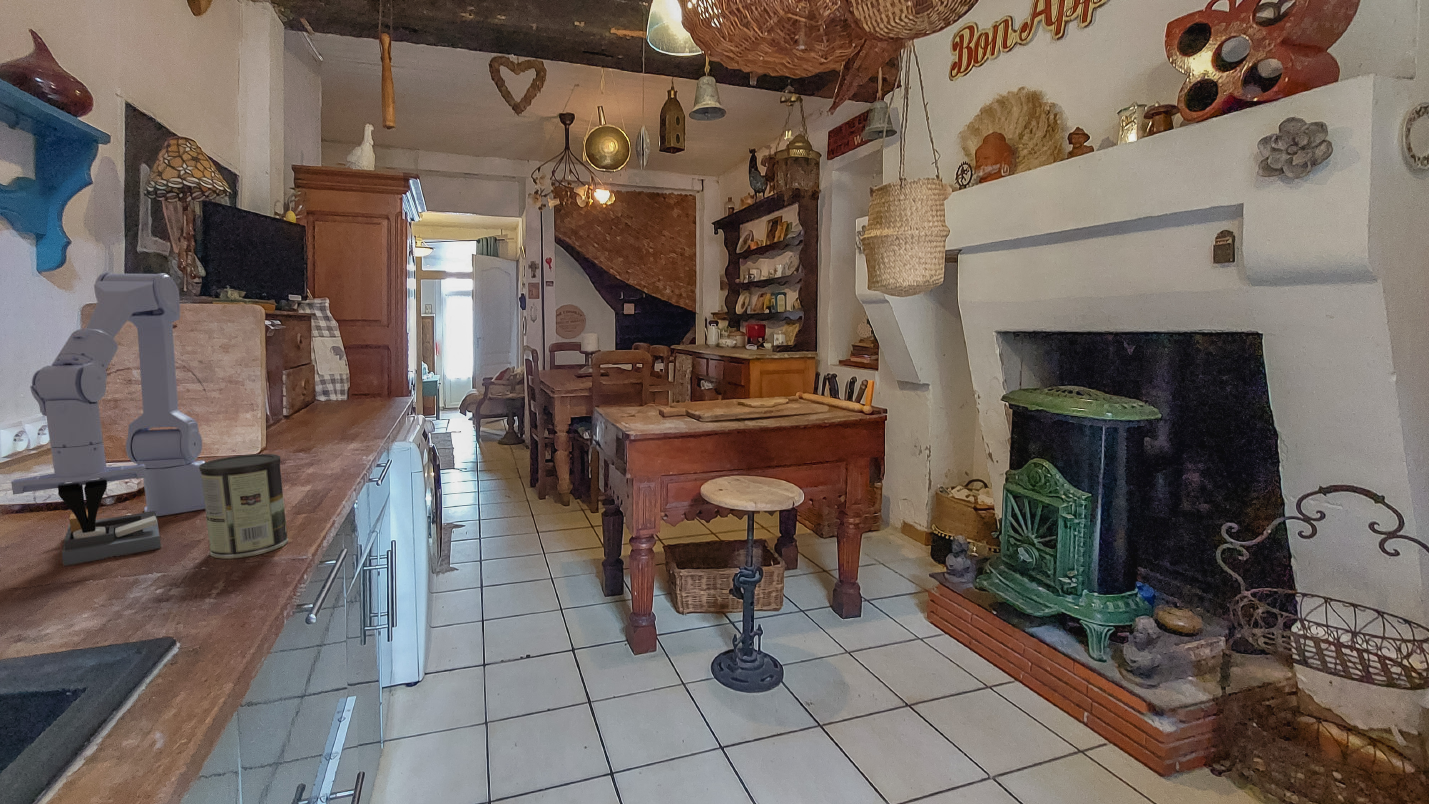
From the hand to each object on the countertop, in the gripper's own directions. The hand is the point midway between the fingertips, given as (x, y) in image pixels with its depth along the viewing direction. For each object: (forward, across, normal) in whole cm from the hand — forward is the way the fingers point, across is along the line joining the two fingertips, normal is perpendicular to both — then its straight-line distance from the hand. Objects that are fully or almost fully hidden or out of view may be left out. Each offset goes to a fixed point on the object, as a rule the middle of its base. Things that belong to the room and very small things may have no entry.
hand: (89, 530), depth 100 cm
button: (+1, 0, 0) cm, 1 cm away
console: (+4, +2, +5) cm, 7 cm away
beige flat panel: (+1, +6, 0) cm, 6 cm away
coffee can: (+4, +18, -13) cm, 23 cm away
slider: (+2, -1, +6) cm, 6 cm away
